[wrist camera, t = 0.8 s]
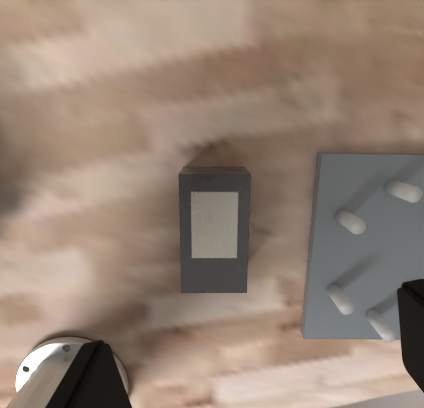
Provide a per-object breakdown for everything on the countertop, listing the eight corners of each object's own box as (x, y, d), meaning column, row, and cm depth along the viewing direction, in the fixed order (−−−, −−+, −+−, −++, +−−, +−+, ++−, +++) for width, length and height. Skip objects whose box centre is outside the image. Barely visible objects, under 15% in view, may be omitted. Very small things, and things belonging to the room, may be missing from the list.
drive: (241, 268, 34) (246, 293, 29) (185, 268, 34) (181, 293, 29) (244, 166, 31) (250, 174, 26) (183, 166, 31) (178, 174, 26)
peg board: (424, 332, 35) (455, 363, 31) (300, 331, 35) (314, 362, 31) (460, 154, 31) (503, 159, 26) (317, 152, 31) (336, 157, 26)
